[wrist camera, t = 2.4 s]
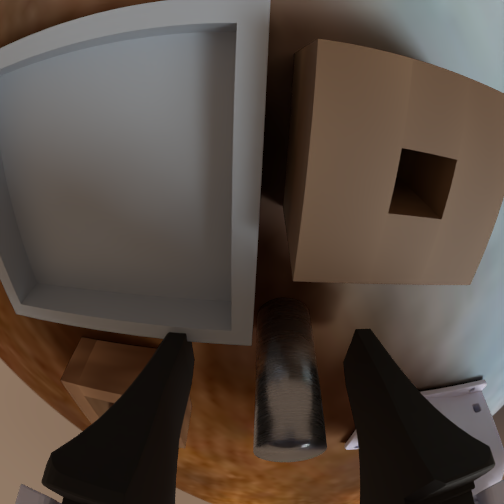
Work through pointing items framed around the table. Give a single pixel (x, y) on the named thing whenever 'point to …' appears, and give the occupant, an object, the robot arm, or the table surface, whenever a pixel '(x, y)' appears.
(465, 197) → the block
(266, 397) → the cylinder
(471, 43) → the table surface
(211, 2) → the tray
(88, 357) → the wide bore block
